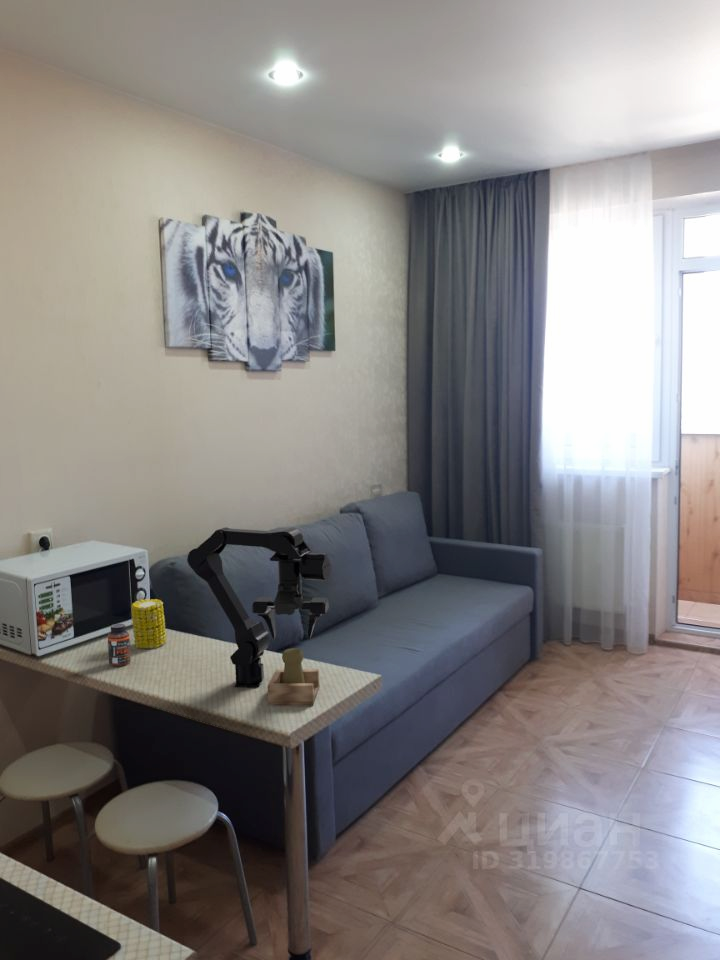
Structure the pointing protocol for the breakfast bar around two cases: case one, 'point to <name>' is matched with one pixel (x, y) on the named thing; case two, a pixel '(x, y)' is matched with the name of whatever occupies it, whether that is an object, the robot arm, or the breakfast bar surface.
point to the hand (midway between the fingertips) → (291, 638)
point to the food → (148, 623)
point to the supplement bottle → (119, 646)
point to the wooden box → (293, 689)
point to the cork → (293, 666)
